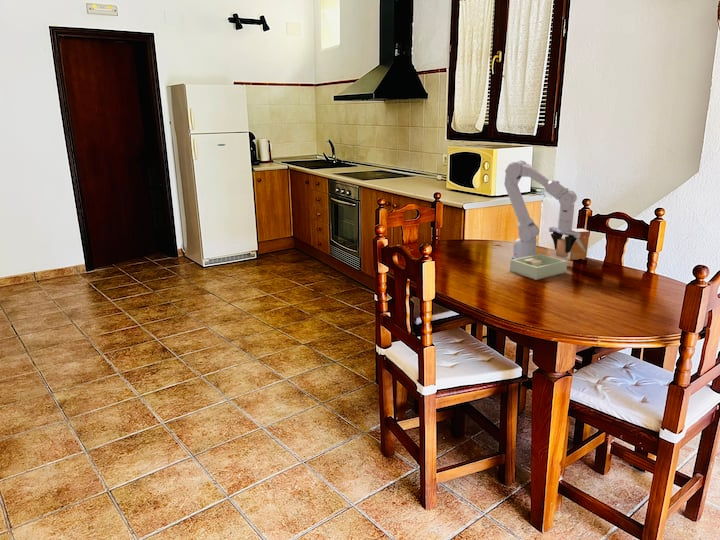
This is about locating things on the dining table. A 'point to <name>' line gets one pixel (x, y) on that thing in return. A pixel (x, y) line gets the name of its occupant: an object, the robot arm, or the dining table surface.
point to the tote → (546, 269)
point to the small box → (579, 245)
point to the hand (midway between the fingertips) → (562, 250)
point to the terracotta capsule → (561, 248)
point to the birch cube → (533, 262)
